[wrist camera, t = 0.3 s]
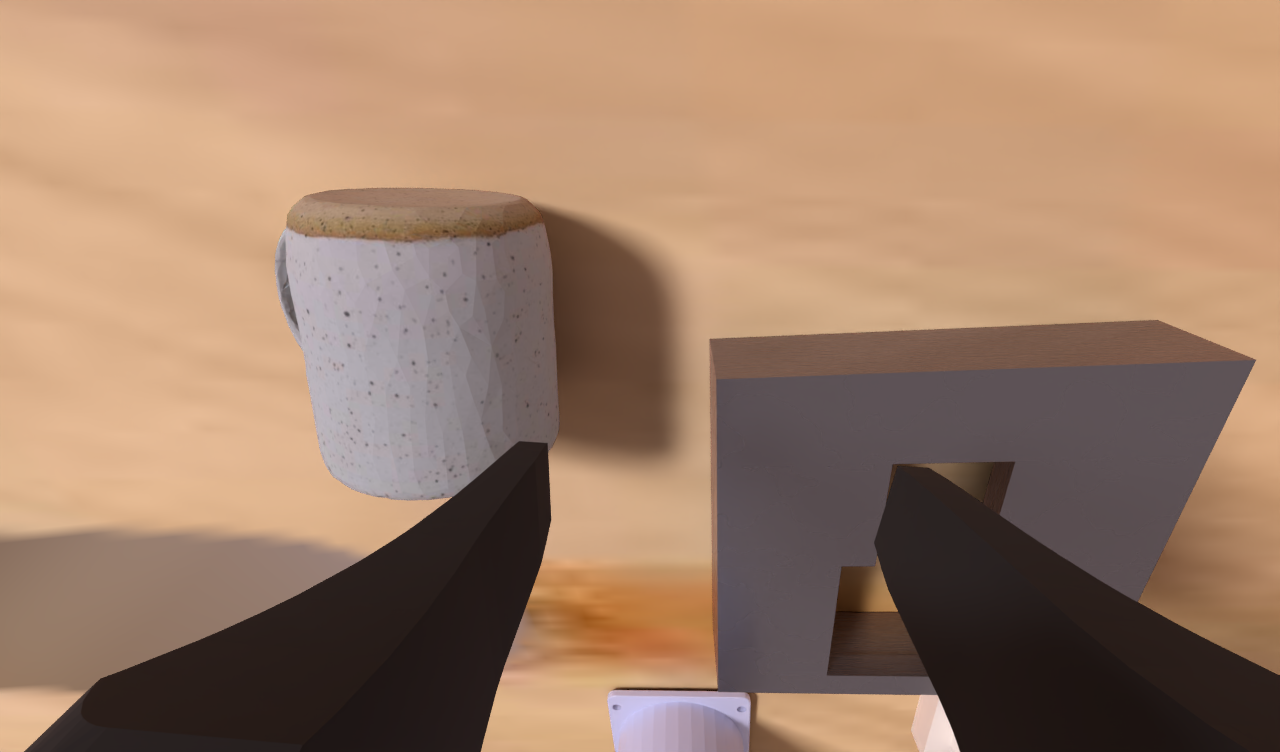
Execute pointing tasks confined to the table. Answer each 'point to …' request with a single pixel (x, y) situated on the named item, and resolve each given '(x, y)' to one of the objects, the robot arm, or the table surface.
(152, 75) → the table surface
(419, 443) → the ceramic mug
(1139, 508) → the keyhole plate
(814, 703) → the table surface
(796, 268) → the table surface
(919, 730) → the peg
